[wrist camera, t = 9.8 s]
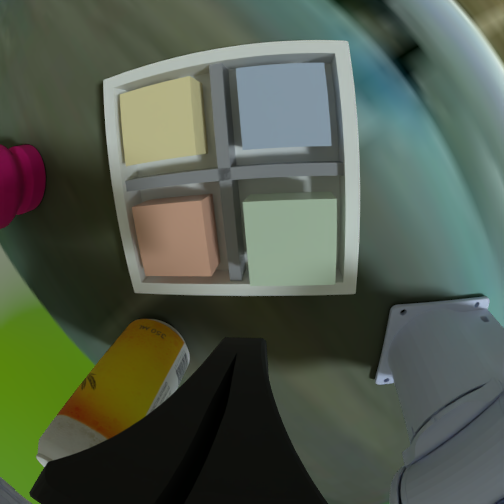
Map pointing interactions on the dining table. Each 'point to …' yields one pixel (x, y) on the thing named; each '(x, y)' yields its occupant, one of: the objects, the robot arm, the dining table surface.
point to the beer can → (118, 389)
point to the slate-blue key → (283, 106)
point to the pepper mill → (20, 181)
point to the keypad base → (240, 165)
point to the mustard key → (163, 121)
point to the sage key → (291, 238)
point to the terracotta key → (177, 236)
